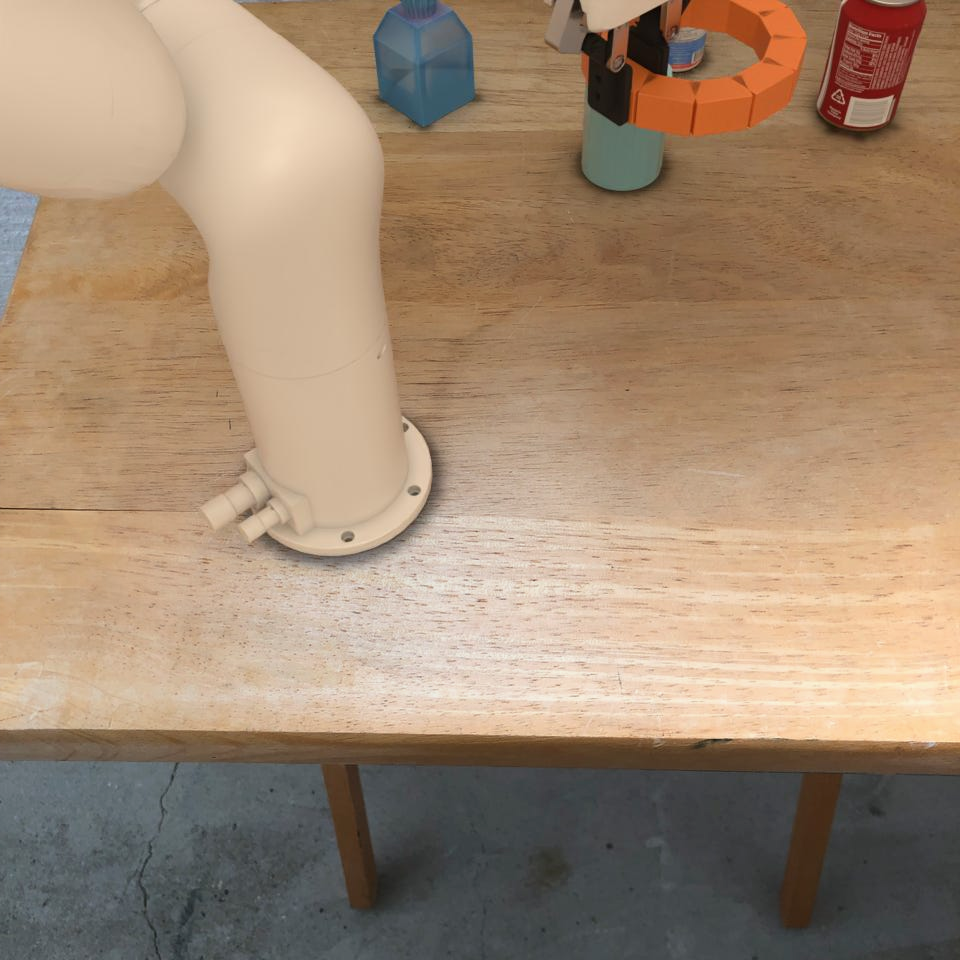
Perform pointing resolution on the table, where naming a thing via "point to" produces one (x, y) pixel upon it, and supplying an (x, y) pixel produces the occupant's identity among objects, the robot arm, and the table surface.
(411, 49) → the perfume bottle
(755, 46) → the ring
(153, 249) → the table surface
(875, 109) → the soda can
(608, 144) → the cup
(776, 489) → the table surface
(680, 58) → the pill bottle
